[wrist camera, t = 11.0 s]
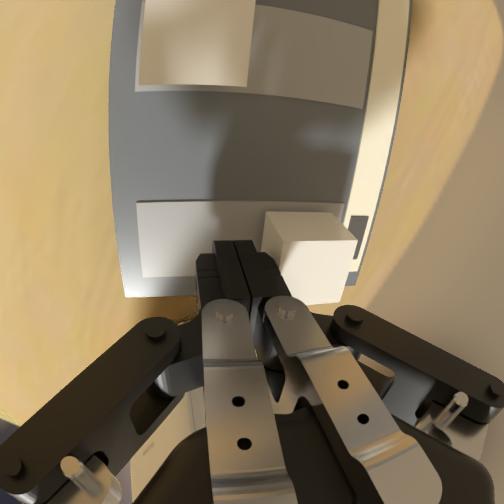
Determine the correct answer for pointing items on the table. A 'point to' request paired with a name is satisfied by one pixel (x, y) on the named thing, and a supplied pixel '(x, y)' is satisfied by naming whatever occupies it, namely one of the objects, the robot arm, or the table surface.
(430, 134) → the table surface
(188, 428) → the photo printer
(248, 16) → the middle tab
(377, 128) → the switch board
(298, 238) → the tab
